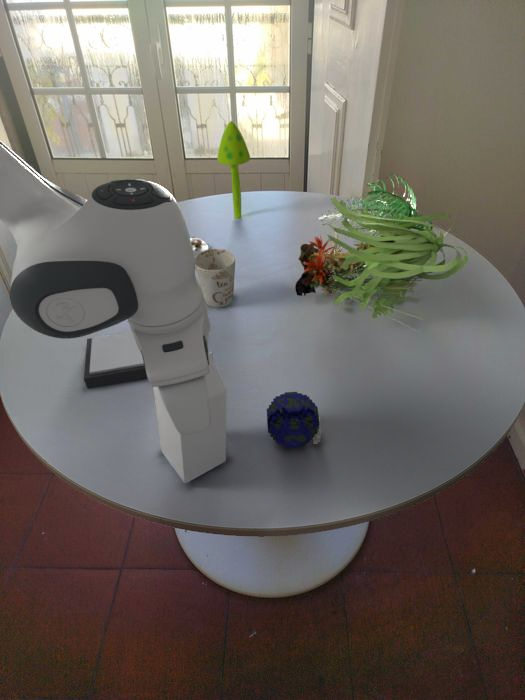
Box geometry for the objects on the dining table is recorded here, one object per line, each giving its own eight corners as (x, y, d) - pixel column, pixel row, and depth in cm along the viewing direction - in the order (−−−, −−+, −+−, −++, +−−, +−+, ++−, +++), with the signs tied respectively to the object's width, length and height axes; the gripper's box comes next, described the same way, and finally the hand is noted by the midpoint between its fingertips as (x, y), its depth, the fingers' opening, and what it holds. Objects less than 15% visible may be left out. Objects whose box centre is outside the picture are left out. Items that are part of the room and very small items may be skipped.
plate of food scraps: (202, 263, 112) (200, 249, 110) (154, 260, 114) (151, 246, 111) (214, 240, 121) (212, 226, 118) (169, 237, 122) (167, 224, 120)
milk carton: (161, 452, 71) (149, 356, 59) (201, 431, 75) (197, 337, 63) (184, 484, 67) (176, 388, 55) (226, 461, 70) (227, 366, 58)
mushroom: (221, 224, 127) (211, 126, 110) (224, 210, 133) (215, 115, 116) (252, 224, 126) (247, 125, 110) (253, 210, 133) (249, 115, 116)
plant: (337, 214, 114) (489, 174, 90) (339, 339, 113) (493, 332, 89) (249, 180, 92) (420, 114, 68) (250, 335, 91) (424, 324, 67)
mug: (203, 314, 97) (197, 273, 91) (193, 282, 106) (187, 242, 100) (242, 307, 99) (239, 266, 92) (229, 275, 108) (225, 236, 101)
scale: (86, 388, 83) (81, 376, 80) (89, 348, 91) (85, 336, 88) (161, 375, 84) (158, 363, 82) (158, 337, 92) (155, 325, 90)
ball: (315, 414, 77) (317, 382, 71) (322, 453, 71) (325, 421, 66) (266, 417, 76) (265, 385, 71) (269, 456, 71) (268, 424, 66)
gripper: (138, 278, 61) (164, 354, 71) (148, 389, 46) (178, 466, 56) (186, 267, 62) (205, 344, 71) (210, 374, 47) (230, 453, 56)
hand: (193, 399), depth 63 cm, fingers closed on milk carton, 8 cm apart
